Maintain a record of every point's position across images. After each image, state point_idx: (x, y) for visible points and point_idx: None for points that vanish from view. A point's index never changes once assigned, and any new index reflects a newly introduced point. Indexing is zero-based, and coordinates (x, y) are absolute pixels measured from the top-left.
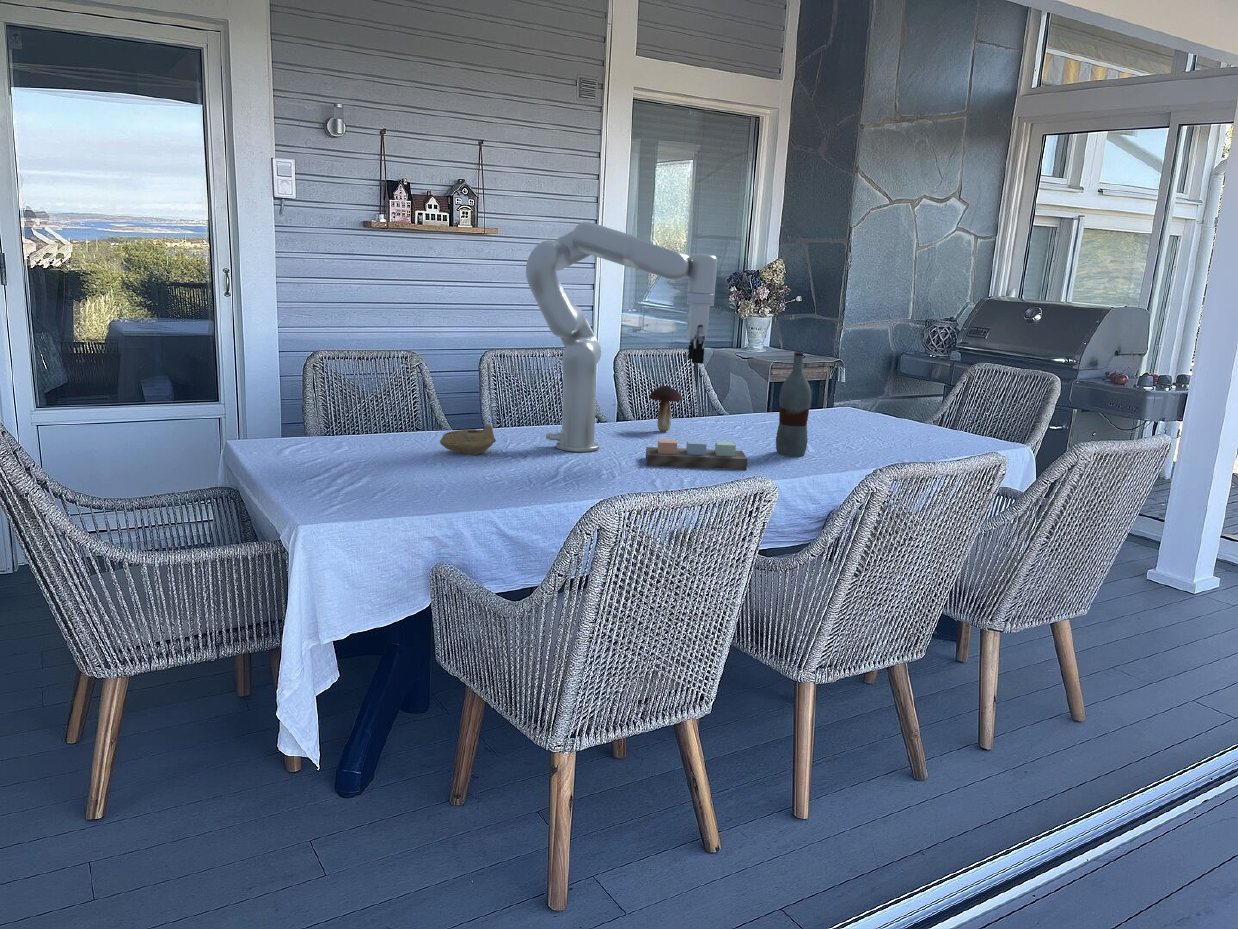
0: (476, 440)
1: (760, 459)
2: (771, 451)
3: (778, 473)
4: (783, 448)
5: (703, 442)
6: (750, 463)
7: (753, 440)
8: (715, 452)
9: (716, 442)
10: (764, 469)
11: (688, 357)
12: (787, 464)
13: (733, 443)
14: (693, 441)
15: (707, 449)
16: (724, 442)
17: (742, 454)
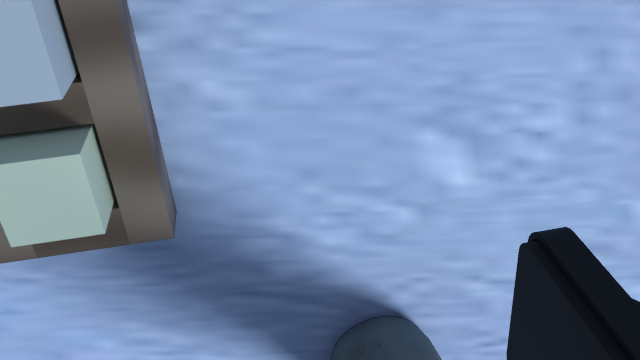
0: None
1: (241, 272)
2: (405, 299)
3: (4, 333)
4: (342, 353)
5: (2, 94)
6: (147, 243)
7: (607, 239)
8: (60, 133)
9: (42, 159)
10: (52, 291)
11: (543, 243)
12: (184, 351)
13: (61, 235)
14: (2, 36)
15: (135, 92)
16: (65, 196)
17: (85, 242)
